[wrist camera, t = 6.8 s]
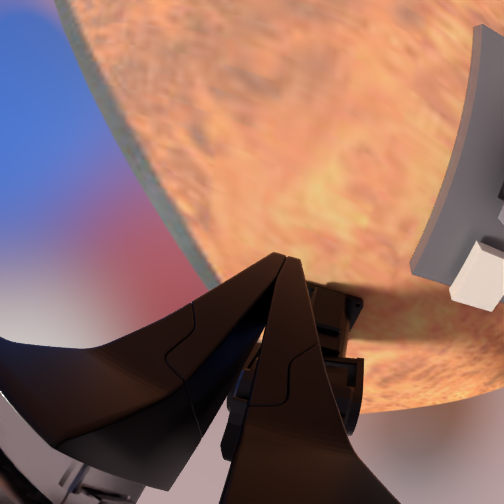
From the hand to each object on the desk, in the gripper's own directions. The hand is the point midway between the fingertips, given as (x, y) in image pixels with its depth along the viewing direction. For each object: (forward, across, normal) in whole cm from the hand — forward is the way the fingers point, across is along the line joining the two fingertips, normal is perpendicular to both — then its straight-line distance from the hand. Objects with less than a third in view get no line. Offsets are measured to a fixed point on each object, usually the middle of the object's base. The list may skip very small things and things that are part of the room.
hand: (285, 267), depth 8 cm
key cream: (+11, -14, +4) cm, 18 cm away
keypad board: (+12, -14, -4) cm, 19 cm away
